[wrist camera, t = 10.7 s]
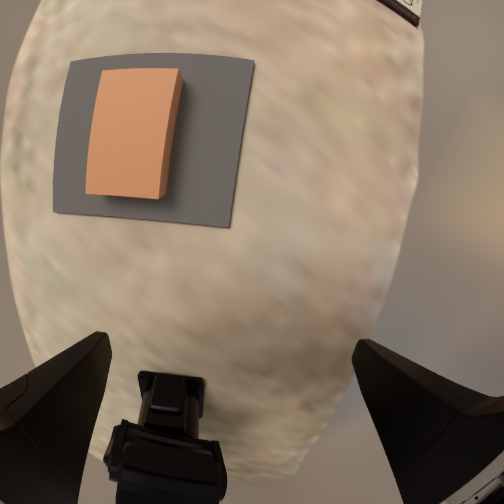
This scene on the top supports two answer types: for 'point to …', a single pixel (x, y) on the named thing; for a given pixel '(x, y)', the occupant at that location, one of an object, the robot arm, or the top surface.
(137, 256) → the top surface
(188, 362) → the top surface
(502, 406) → the robot arm
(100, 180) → the tile
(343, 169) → the top surface
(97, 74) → the mat
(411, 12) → the chocolate bar
